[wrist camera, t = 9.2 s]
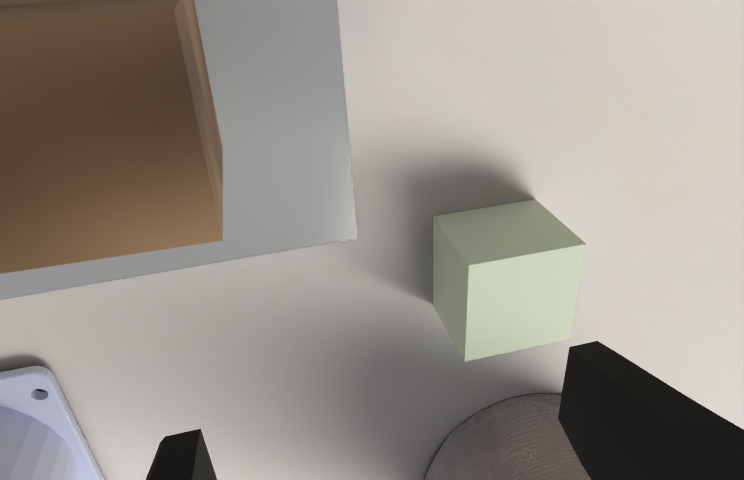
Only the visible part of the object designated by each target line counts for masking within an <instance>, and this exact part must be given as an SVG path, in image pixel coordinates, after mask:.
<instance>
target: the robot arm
mask: <svg viewBox="0 0 744 480" xmlns="http://www.w3.org/2000/svg"><path fill="white" fill-rule="evenodd" d="M36 389H43V390H46V391H47V392H40V391H37V390H36ZM558 420H559V422H560V424H561V426H562V428H563V430H564V432H565V434H566V436H567V438H568V440H569V442H570V444H571V446H572V447H573V449H574V451H575V453H576V455H577V457H578V459H579V461H580V462H581V464H582V466H583V468H584V469H585V471H586V472H587V474H588V475H589V477H590V478H591V480H744V430H743V429H741V428H740V427H738V426H736V425H734V424H733V423H731V422H729V421H727V420H726V419H724V418H722V417H720V416H719V415H717V414H715V413H714V412H712V411H710V410H709V409H707V408H705V407H704V406H702V405H700V404H699V403H697V402H695V401H694V400H692V399H690V398H689V397H687V396H685V395H684V394H682V393H680V392H679V391H677V390H676V389H674V388H672V387H671V386H669V385H668V384H666V383H664V382H663V381H661V380H660V379H658V378H656V377H655V376H653V375H652V374H650V373H648V372H647V371H645V370H644V369H642V368H640V367H639V366H637V365H636V364H634V363H632V362H631V361H629V360H628V359H626V358H624V357H623V356H621V355H620V354H618V353H616V352H615V351H613V350H611V349H610V348H608V347H606V346H605V345H603V344H601V343H600V342H598V341H595V342H591V343H586V344H582V345H577V346H573V347H570V348H569V354H568V360H567V366H566V372H565V378H564V384H563V390H562V396H561V403H560V409H559V415H558ZM0 480H105V479H104V477H103V475H102V473H101V471H100V469H99V467H98V465H97V463H96V461H95V459H94V457H93V455H92V453H91V451H90V449H89V447H88V445H87V443H86V441H85V439H84V437H83V435H82V433H81V431H80V428H79V426H78V424H77V422H76V420H75V418H74V416H73V414H72V412H71V410H70V408H69V406H68V404H67V402H66V400H65V398H64V396H63V394H62V392H61V390H60V388H59V386H58V384H57V382H56V380H55V377H54V375H53V374H52V372H51V371H50V370H49V369H47V368H45V367H41V366H30V367H25V368H19V369H14V370H9V371H4V372H0ZM146 480H217V478H216V475H215V472H214V469H213V466H212V463H211V460H210V457H209V454H208V450H207V447H206V444H205V441H204V438H203V435H202V432H201V429H198V430H193V431H189V432H184V433H180V434H175V435H171V436H166V437H165V438H164V439H163V440H162V441H161V442H160V444H159V447H158V450H157V452H156V455H155V458H154V460H153V463H152V465H151V468H150V470H149V473H148V475H147V478H146Z"/></svg>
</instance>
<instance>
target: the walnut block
mask: <svg viewBox="0 0 744 480" xmlns="http://www.w3.org/2000/svg"><path fill="white" fill-rule="evenodd" d="M217 241H223V148H222V143H221V138H220V133H219V128H218V122H217V117H216V112H215V107H214V102H213V96H212V91H211V86H210V81H209V76H208V70H207V65H206V60H205V55H204V50H203V45H202V39H201V34H200V29H199V24H198V19H197V13H196V8H195V3H194V0H0V274H4V273H10V272H17V271H24V270H30V269H37V268H44V267H50V266H57V265H64V264H70V263H77V262H84V261H90V260H97V259H104V258H110V257H117V256H124V255H130V254H137V253H144V252H150V251H157V250H164V249H170V248H177V247H184V246H190V245H197V244H204V243H210V242H217Z"/></svg>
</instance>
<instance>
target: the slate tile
mask: <svg viewBox="0 0 744 480" xmlns="http://www.w3.org/2000/svg"><path fill="white" fill-rule="evenodd" d="M194 3H195V8H196V13H197V19H198V24H199V29H200V34H201V39H202V45H203V50H204V55H205V60H206V65H207V70H208V76H209V81H210V86H211V91H212V96H213V102H214V107H215V112H216V117H217V122H218V128H219V133H220V138H221V143H222V148H223V241H217V242H210V243H204V244H197V245H190V246H184V247H177V248H170V249H164V250H157V251H150V252H144V253H137V254H130V255H124V256H117V257H110V258H104V259H97V260H90V261H84V262H77V263H70V264H64V265H57V266H50V267H44V268H37V269H30V270H24V271H17V272H10V273H4V274H0V300H2V299H8V298H14V297H20V296H26V295H31V294H37V293H43V292H49V291H55V290H61V289H66V288H72V287H78V286H84V285H90V284H95V283H101V282H107V281H113V280H119V279H124V278H130V277H136V276H142V275H148V274H154V273H159V272H165V271H171V270H177V269H183V268H188V267H194V266H200V265H206V264H212V263H217V262H223V261H229V260H235V259H241V258H247V257H252V256H258V255H264V254H270V253H276V252H281V251H287V250H293V249H299V248H305V247H310V246H316V245H322V244H328V243H334V242H340V241H345V240H351V239H357V227H356V216H355V204H354V193H353V181H352V169H351V158H350V146H349V134H348V123H347V111H346V100H345V88H344V76H343V65H342V53H341V41H340V30H339V18H338V7H337V0H194Z"/></svg>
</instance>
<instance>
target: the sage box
mask: <svg viewBox="0 0 744 480" xmlns="http://www.w3.org/2000/svg"><path fill="white" fill-rule="evenodd" d="M585 248H586V243H584V242H583V241H582V240H581V239H580V238H579V237H578V236H576V235H575V234H574V233H573V232H572V231H571V230H570V229H568V228H567V227H566V226H565V225H564V224H563V223H562V222H561V221H559V220H558V219H557V218H556V217H555V216H554V215H553V214H551V213H550V212H549V211H548V210H547V209H546V208H545V207H543V206H542V205H541V204H540V203H539V202H538V201H537V200H535V199H534V200H528V201H522V202H516V203H509V204H503V205H497V206H491V207H485V208H479V209H473V210H467V211H461V212H455V213H449V214H443V215H437V216H433V305H434V307H435V309H436V311H437V312H438V314H439V316H440V318H441V320H442V321H443V323H444V325H445V327H446V329H447V330H448V332H449V334H450V336H451V338H452V339H453V341H454V343H455V345H456V347H457V349H458V350H459V352H460V354H461V356H462V358H463V359H464V361H465V362H466V361H471V360H475V359H480V358H485V357H489V356H494V355H499V354H503V353H508V352H513V351H517V350H522V349H527V348H531V347H536V346H541V345H545V344H550V343H555V342H559V341H564V340H569V339H570V336H571V330H572V324H573V318H574V312H575V306H576V301H577V295H578V289H579V283H580V277H581V271H582V265H583V259H584V253H585Z"/></svg>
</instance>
